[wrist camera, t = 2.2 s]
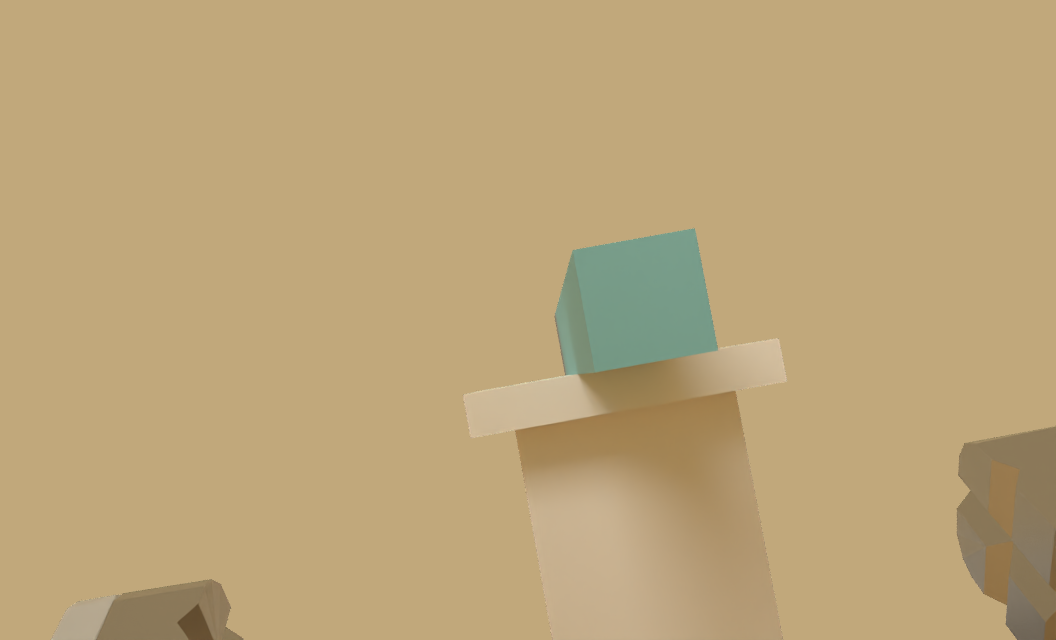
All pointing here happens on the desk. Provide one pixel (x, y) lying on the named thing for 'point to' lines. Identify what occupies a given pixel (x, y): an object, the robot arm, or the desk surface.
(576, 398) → the stand
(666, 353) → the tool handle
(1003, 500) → the robot arm
